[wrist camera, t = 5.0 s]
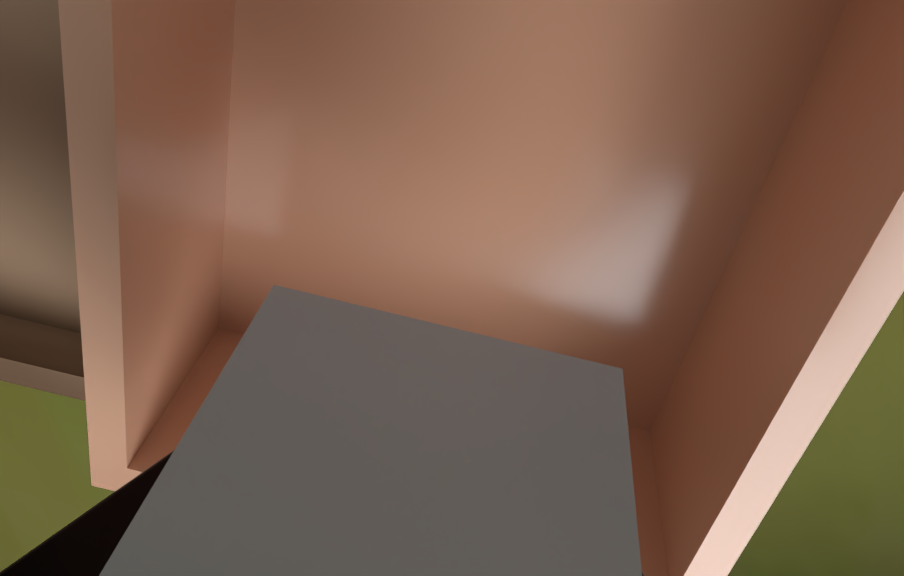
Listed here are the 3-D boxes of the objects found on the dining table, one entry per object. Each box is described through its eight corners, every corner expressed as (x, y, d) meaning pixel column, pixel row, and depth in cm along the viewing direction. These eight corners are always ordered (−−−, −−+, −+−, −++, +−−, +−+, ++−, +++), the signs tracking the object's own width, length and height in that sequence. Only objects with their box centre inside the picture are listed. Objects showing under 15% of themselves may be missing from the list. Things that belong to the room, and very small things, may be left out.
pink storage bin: (665, 438, 17) (693, 630, 13) (200, 327, 17) (91, 485, 13) (987, -234, 10) (1237, -248, 6) (225, -419, 10) (19, -543, 6)
